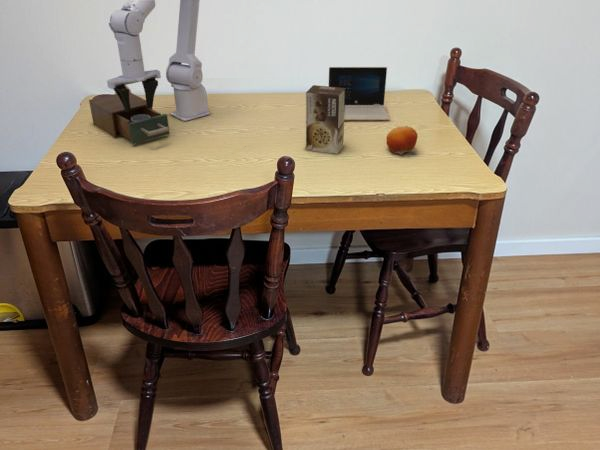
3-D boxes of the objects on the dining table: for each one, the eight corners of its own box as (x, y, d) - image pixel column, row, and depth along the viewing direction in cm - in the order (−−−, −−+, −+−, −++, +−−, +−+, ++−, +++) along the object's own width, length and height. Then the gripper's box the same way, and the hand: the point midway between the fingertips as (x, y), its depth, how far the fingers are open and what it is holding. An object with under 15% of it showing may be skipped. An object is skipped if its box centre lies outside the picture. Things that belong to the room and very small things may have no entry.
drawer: (178, 139, 154) (176, 119, 151) (142, 150, 148) (139, 129, 145) (146, 121, 166) (143, 102, 163) (110, 130, 159) (107, 111, 156)
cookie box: (343, 145, 153) (346, 87, 145) (337, 154, 148) (340, 95, 139) (312, 141, 155) (313, 84, 147) (304, 150, 150) (305, 91, 142)
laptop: (330, 121, 169) (331, 78, 162) (327, 107, 179) (328, 66, 173) (389, 121, 169) (393, 78, 162) (383, 107, 180) (387, 66, 173)
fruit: (402, 156, 143) (395, 126, 143) (385, 161, 150) (379, 132, 150) (427, 150, 146) (420, 120, 146) (410, 155, 154) (403, 127, 153)
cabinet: (155, 127, 164) (151, 102, 160) (115, 138, 157) (111, 112, 153) (131, 114, 173) (128, 91, 169) (93, 124, 166) (88, 99, 162)
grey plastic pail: (146, 125, 160) (144, 112, 158) (155, 130, 156) (153, 118, 155) (129, 130, 157) (126, 117, 155) (138, 135, 153) (136, 122, 151)
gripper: (112, 67, 140) (121, 118, 147) (163, 56, 148) (169, 106, 155) (100, 61, 144) (109, 111, 151) (150, 51, 153) (157, 100, 160)
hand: (139, 108), depth 153 cm, fingers open, 6 cm apart
